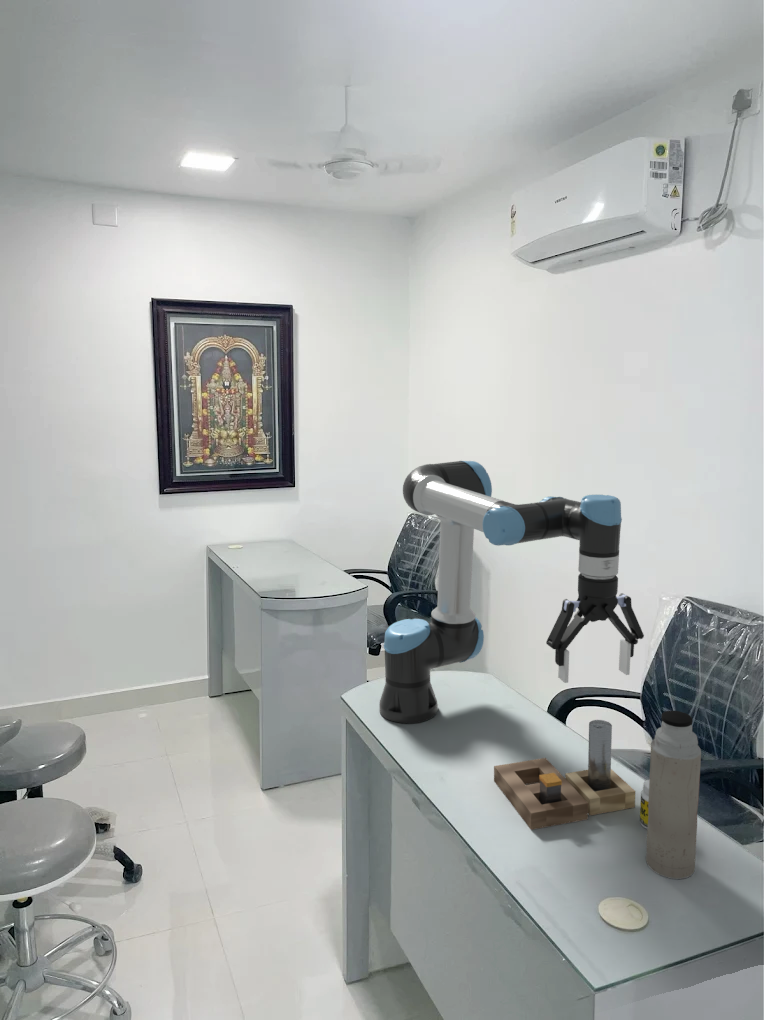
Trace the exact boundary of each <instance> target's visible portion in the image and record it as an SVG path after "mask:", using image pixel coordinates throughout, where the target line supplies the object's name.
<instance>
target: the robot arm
mask: <svg viewBox="0 0 764 1020" xmlns="http://www.w3.org/2000/svg"><path fill="white" fill-rule="evenodd" d="M492 493H493V487H492V481H491V478H490V475H489V473H488V472H487V470H486V468H485V466H483V464H481V463H479V462H477V461H475V460H473V461H472V460H457V461H450V462H449V461H448V462H437V463H427V464H422V465H420V466H418V467H415V468H414V469H413V470H411V471H410V472H409V474H408V475H407V476H406V478H405V479H404V482H403V485H402V496H403V499H404V501H405V503H406V505H407V506H408V507H409V508H410V509H411V510H413V511H414V512H417V513H420V514H422V515H424V516H436V517H437V518H438V519H439V521H440V528H439V531H440V532H439V533H440V534H439V551H438V552H439V553H438V555H439V557H438V576H437V577H438V579H437V603H436V604H437V606H436V607H435V608H434V609H432V611H431V614H430V615H431V616H430V622H428V621H427V620H425V619H422V618H412V619H411V618H408V619H407V618H406V619H401V620H398V621H395V622H393V623H392V624H390V625H389V627H387V629H386V630H385V632H384V640H383V641H384V643H383V650H384V671H385V673H384V675H385V683H384V686H383V689H382V693H381V696H380V699H379V713H380V716H382V717H383V719H386V720H388V721H391V722H394V723H400V724H415V723H421V722H422V723H423V722H425V721H428V720H430V719H432V718H434V717H435V716H436V715H437V714H438V709H439V708H438V700H437V697H436V694H435V691H434V688H433V686H432V683H431V670H433V669H436V668H440V667H444V666H446V667H447V666H450V665H454V664H457V663H464V662H467V661H468V660H473V659H474V658H476V657H477V656H478V655H479V654H480V653H481V652H482V651H481V650H482V648H483V645H484V639H485V635H484V630H483V629H482V627H483V626H482V623H481V622H480V620H479V619H478V618H477V616H476V613H475V612H474V610H472V609H471V595H472V594H471V593H472V580H473V579H472V575H473V573H472V572H473V553H474V539H475V537H474V536H475V535H474V533H475V530H477V531H480V532H482V533H483V534H484V536H485V539H488V541H489V543H491V545H494V546H496V547H497V546H498V547H499V546H513V545H516V544H522V543H527V542H533V541H534V542H535V541H540V540H547V539H553V538H558V537H559V538H560V537H561V538H562V537H564V538H565V537H566V538H569V539H572V540H576V541H579V547H578V548H579V549H578V550H579V551H578V568H577V569H578V572H579V574H578V576H577V577H578V578H577V593H578V596H577V600H569V599H567V598H564V599H563V600H562V604H561V605H562V606H561V610H560V613H559V615H558V616H557V619H556V621H555V623H554V624H553V627H552V629H551V631H550V633H549V635H548V637H547V640H546V645H547V646H549V647H550V649H552V650H555V652H554V653H555V657H554V662H555V664H556V665H557V666H558V670H557V671H558V676H557V678H559V680H561V681H562V682H563V683H565V684H567V683H569V671H570V669H569V668H570V650H568V649H567V648H569V646H570V645H571V643H572V642H573V640H575V638H576V637H577V636H578V634H579V633H580V632H581V630H582V629H583V627H584V626H587V625H588V624H589V622H591V623H595V622H597V621H603V622H604V621H607V619H608V620H609V622H610V623H611V624H612V625H613V626H614V628H615V629H616V630H617V631H618V632H619V633H620V635H621V636H622V638H623V639H620V640H619V657H618V659H619V660H618V670H619V672H621V673H623V674H624V675H625V676H629V675H630V673H631V672H630V669H631V658H633V657H634V651H635V645H637V644H638V643H639V640H642V639H644V638H645V637H644V636H645V634H644V632H643V630H642V627H641V625H640V623H639V621H638V619H637V616H636V614H635V611H634V609H633V607H632V597H630V596H629V595H627V594H625V593H623V592H622V593H620V594H619V595H617V594H618V592H619V591H618V588H619V578H618V576H617V575H618V574H619V562H620V542H621V541H620V540H621V539H620V538H621V529H622V520H623V517H622V505H621V504H622V502H621V500H620V499H619V498H618V497H616V496H614V495H609V494H607V495H605V494H587V495H585V496H583V497H581V499H580V500H581V501H577V500H573V499H568V498H565V497H562V496H545V497H544V498H542V499H541V500H540V501H538V502H530V503H522V504H514V503H512V502H508V501H506V500H505V501H504V500H503V499H499V498H496V497H492ZM617 606H619V607H620V609H621V613H622V614H623V616H624V619H625V621H626V623H627V626H628V627H629V628H627V626H626V625H625V624H624V622H623V621H622V620H621V619H620V617H619V616H618V614H617V613H616V612H615V608H616V607H617ZM576 609H577V610H576ZM574 613H575V614H574ZM573 614H574V615H573ZM572 617H573V619H572Z"/></svg>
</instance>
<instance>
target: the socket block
mask: <svg viewBox="0 0 764 1020" xmlns="http://www.w3.org/2000/svg"><path fill="white" fill-rule="evenodd" d="M549 773H555V774H556V775H557V776H558V777H559V778H560V779H561V781H562V785H561V801H560V802H554V803H548V804H543V805H542V804H541V803H540V779H539V775H543V774H549ZM493 782H494V783H495V784H496V785H497V787H498V788H499V789H500V791H501V792H502V794H503V795H504V796H505V798H506V799H507V801H508V802H509V803H510V805H512V807H513V808H514V810H516V812H517V814H518V815H519V816H520V817H521V818H522V821H524V822H525V824H526V826H527V827H528V829H529V830H530V831H532V830H537V829H543V828H548V827H549V828H550V827H554V826H559V825H564V824H570V823H571V824H572V823H575V822H580V821H587V820H588V818H589V814H588V802H587V801H586V800H585V799H584V798H583V797H582V796H581V795H580V794H579V793H578V792H577V791H576V790H575V788H574V787H573V786H572V785H571V784H570V783H569V782H568V781H567V780H566V779H565V776H564V775H563V774H561V773H560V772H559V770H558V769H557V768H556V767H555V766H554V765H553V764H552V763H551V762H550V760H549V759H547V758H546V757H542V758H536V759H531V760H530V759H529V760H523V761H516V762H511V763H505V764H504V763H503V764H499V765H494V766H493Z"/></svg>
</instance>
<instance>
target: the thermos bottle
mask: <svg viewBox="0 0 764 1020" xmlns="http://www.w3.org/2000/svg"><path fill="white" fill-rule="evenodd" d="M660 719H661V726H660V727H658V728H657V729H656V731H655V735H654V738H653V739H652V741H651V743H650V757H649V758H650V760H649V763H650V764H649V779H648V780H649V803H648V828H647V829H646V832H647V833H646V851H645V852H646V853H645V855H646V856H645V860H646V864H647V866H648V867H649V869H651V870H652V871H653V872H654V873H656V874H658V875H659V876H661V877H664V878H668V879H672V880H682V879H687V878H690V877H691V876H692V875H693V874H694V872H695V869H696V853H697V851H696V850H697V835H698V834H697V832H698V808H699V798H700V797H699V795H700V782H701V781H700V780H701V778H700V777H701V763H702V762H701V761H702V749H701V748H700V746H699V740H698V736H697V734H696V733H695V732H694V731H693V717H692V716H691V715H690V714H688V713H687V712H683V711H680V710H666V711H663V712H662V713H661V717H660Z"/></svg>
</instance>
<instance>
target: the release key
mask: <svg viewBox="0 0 764 1020" xmlns="http://www.w3.org/2000/svg"><path fill="white" fill-rule="evenodd" d="M539 779H540V803H541V804H542V805H543V804H548V803H554V802H560V801H561V785H562V781H561V779H560V778H559V777H558V776H557V775H556V774H555V773H549V774H543V775H539Z"/></svg>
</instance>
